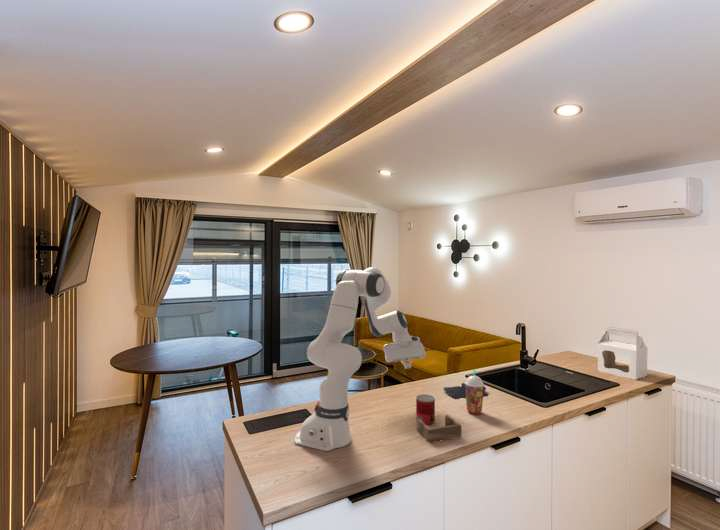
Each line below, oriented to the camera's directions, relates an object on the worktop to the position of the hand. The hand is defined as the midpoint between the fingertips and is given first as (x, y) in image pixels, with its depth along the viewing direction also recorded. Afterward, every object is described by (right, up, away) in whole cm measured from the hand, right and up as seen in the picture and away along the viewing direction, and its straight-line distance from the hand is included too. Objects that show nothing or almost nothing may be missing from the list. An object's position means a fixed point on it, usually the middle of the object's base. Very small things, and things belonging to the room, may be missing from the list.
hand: (408, 367), depth 187 cm
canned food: (+5, -19, -19) cm, 27 cm away
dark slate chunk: (+33, -19, +18) cm, 42 cm away
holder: (+8, -19, -29) cm, 36 cm away
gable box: (+138, -17, +50) cm, 148 cm away
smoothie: (+30, -19, -8) cm, 36 cm away
